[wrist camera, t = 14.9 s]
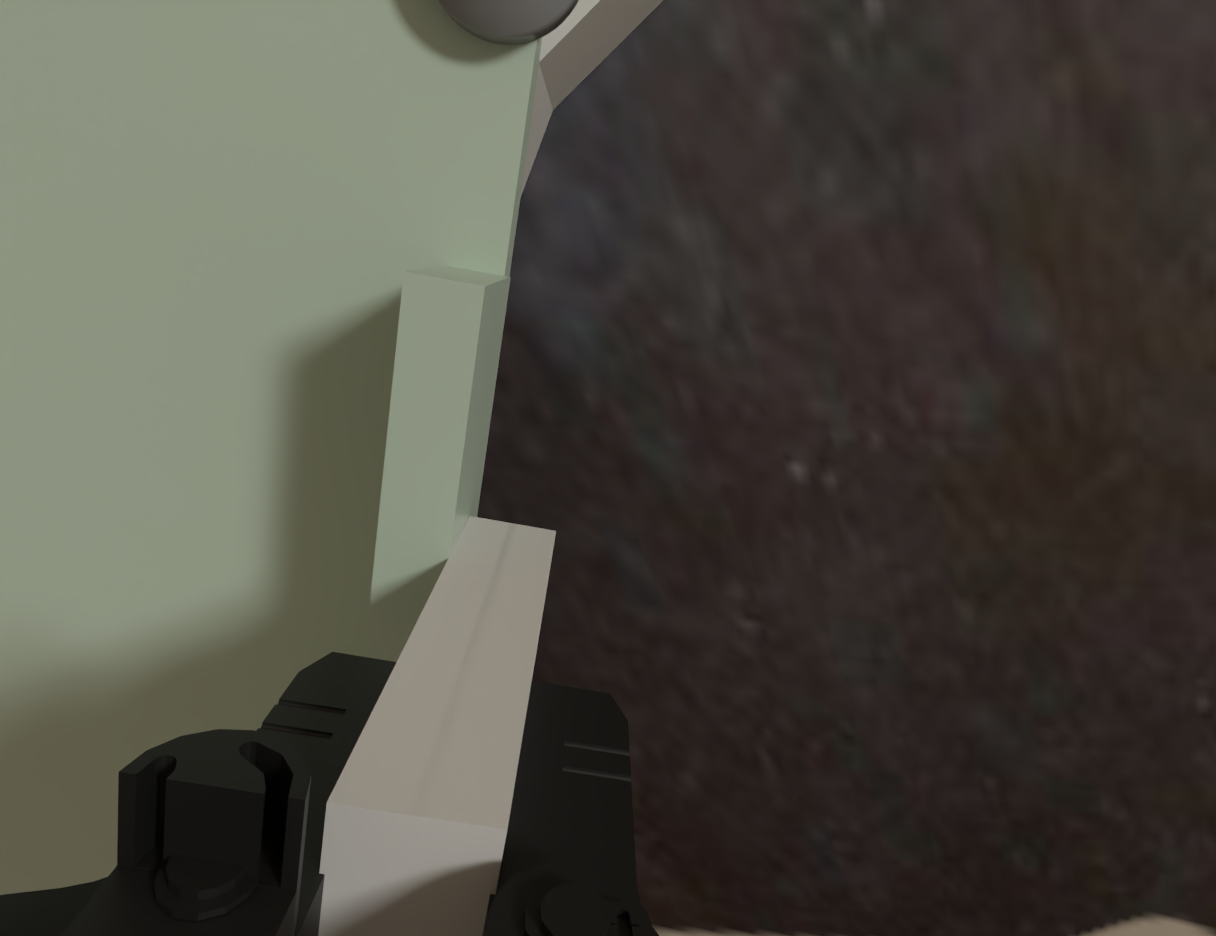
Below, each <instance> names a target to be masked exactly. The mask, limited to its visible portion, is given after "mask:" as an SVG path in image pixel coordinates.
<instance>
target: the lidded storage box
mask: <svg viewBox="0 0 1216 936" xmlns="http://www.w3.org/2000/svg"><path fill="white" fill-rule="evenodd" d="M662 1H663V0H579V1H578V3H577V4H576V6H575V8H574V9H573V11H572V12H571V14H570V15H569V16H568V17H567V18H566V19H565V21H564V22H563V23H562V24H560V25H559V26H558V27H557V28H556V29H555V30H553V31H552V32H550V33H549V34H547V35H545V36H543V39H542V46H541V53H540V61H539V68H538V75H537V82H536V89H535V96H534V103H533V111H532V118H531V125H530V132H529V139H528V146H527V154H526V161H525V168H524V175H523V182H522V189H521V195H522V192H523V190H524V187H525V184H526V181H527V179H528V176H529V173H530V171H531V168H532V165H533V163H534V160H535V157H536V155H537V152H538V149H539V146H540V144H541V141H542V138H543V136H544V133H545V130H546V128H547V125H548V122H549V120H550V117H551V114H552V111H553V110H554V109H555V108H556V107H557V106H558V105H559V104H560V103H561V102H562V101H563V100H564V99H565V98H566V97H567V96H568V95H569V94H570V93H571V92H572V91H573V90H574V89H575V88H576V87H577V86H578V85H579V84H580V83H581V82H582V81H583V80H584V79H585V78H586V77H587V76H588V75H589V74H590V73H591V72H592V71H593V70H594V69H595V68H596V67H597V66H598V65H599V64H600V63H601V62H602V61H603V60H604V59H605V58H606V57H607V56H608V55H609V54H610V53H611V52H612V51H613V50H614V49H615V48H616V47H617V46H618V45H619V44H620V43H621V42H622V41H623V40H624V39H625V38H626V37H627V36H628V35H629V34H630V33H631V32H632V31H633V30H634V29H635V28H636V27H637V26H638V25H639V24H640V23H641V22H642V21H643V20H644V19H645V18H646V17H647V16H648V15H649V14H650V13H651V12H652V11H653V10H654V9H655V8H656V7H657V6H658V5H659V4H660V3H661V2H662ZM520 198H521V196H520Z"/></svg>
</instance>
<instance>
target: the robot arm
mask: <svg viewBox="0 0 1216 936" xmlns="http://www.w3.org/2000/svg"><path fill="white" fill-rule="evenodd" d="M555 535H556V531H553V530H547V529H541V528H536V527H530V526H524V525H518V524H513V523H507V522H501V521H495V520H489V519H484V518H478V517H472V516H469V518H468V520H467V522H466V524H465V526H464V528H463V530H462V532H461V534H460V536H459V539H458V541H457V543H456V545H455V547H454V549H453V551H452V554H451V556H450V558H448V560H447V562H446V564H445V566H444V568H443V570H442V572H441V574H440V576H439V578H438V580H437V582H436V584H435V586H434V588H433V590H432V592H431V594H430V596H429V598H428V600H427V602H426V604H425V606H424V608H423V610H422V612H421V614H420V616H419V618H418V621H417V623H416V625H415V627H414V629H413V631H412V633H411V635H410V637H409V639H408V641H407V643H406V645H405V647H404V649H403V651H402V653H401V655H400V657H399V659H398V661H397V662H393V661H387V660H381V659H375V658H368V657H362V656H356V655H350V654H344V653H338V652H331V653H329V654H328V655H326V656H324V657H323V658H321V659H319V660H317V661H316V662H314V663H312V664H311V665H309V666H307V667H306V668H304V669H302V670H301V671H299V672H298V673H297V675H296V676H295V678H294V679H293V680H292V682H291V683H290V685H289V686H288V687H287V689H286V690H285V691H284V693H283V694H282V696H281V697H280V698H279V702H278V705H277V704H275V705H274V707H273V708H272V710H271V711H270V712H269V714H268V715H267V716H266V718H265V719H264V721H263V722H262V726H261V728H258V729H257V730H256V731H254V730H232V729H216V730H210V731H205V732H199V733H194V734H189V735H183V736H180V737H177V738H175V739H172V740H170V741H168V742H165V743H163V744H161V745H158V746H156V747H153V748H151V749H149V750H146V751H145V752H144V753H142V754H141V755H140V756H138V757H137V758H136V759H135V760H133V761H132V762H131V763H129V764H128V765H127V766H125V767H124V768H123V769H122V770H120V771H119V778H118V840H117V866H116V867H115V869H114V870H113V871H112V872H111V874H110V875H109V876H108V877H105V878H102V879H99V880H96V881H94V882H89V883H83V884H78V885H73V886H68V887H63V888H55V889H47V890H38V891H30V892H21V893H12V894H4V895H0V936H659V935H658V934H657V932H656V931H655V930H654V928H653V927H652V925H651V921H650V918H649V915H648V912H647V911H646V910H645V909H644V907H643V906H642V905H641V903H640V899H639V894H638V889H637V881H636V862H635V844H634V826H633V808H632V789H631V783H630V778H631V771H630V757H629V735H628V721H627V719H626V718H625V716H624V715H623V713H622V711H621V710H620V708H619V707H618V705H617V704H616V702H615V701H614V699H613V698H612V696H611V694H609V693H603V692H597V691H591V690H585V689H578V688H572V687H566V686H560V685H554V684H548V683H541V682H535V681H532V676H533V670H534V663H535V657H536V651H537V645H538V639H539V633H540V627H541V620H542V614H543V608H544V602H545V596H546V590H547V584H548V578H549V571H550V565H551V559H552V553H553V547H554V541H555Z"/></svg>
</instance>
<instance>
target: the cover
mask: <svg viewBox="0 0 1216 936" xmlns="http://www.w3.org/2000/svg"><path fill="white" fill-rule="evenodd" d="M578 1H579V0H0V895H4V894H12V893H21V892H30V891H38V890H47V889H55V888H63V887H68V886H73V885H78V884H83V883H89V882H94V881H96V880H99V879H102V878H105V877H108V876H109V875H110V874H111V872H112V871H113V870H114V869H115V867H116V866H117V840H118V778H119V771H120V770H122V769H123V768H124V767H125V766H127V765H128V764H129V763H131V762H132V761H133V760H135V759H136V758H137V757H138V756H140V755H141V754H142V753H144V752H145V751H146V750H149V749H151V748H153V747H156V746H158V745H161V744H163V743H165V742H168V741H170V740H172V739H175V738H177V737H180V736H183V735H189V734H194V733H199V732H205V731H210V730H216V729H232V730H254V731H256V730H257V729H258V728H261V726H262V722H263V721H264V719H265V718H266V716H267V715H268V714H269V712H270V711H271V710H272V708H273V707H274V705H275V704H277V705H278V702H279V698H280V697H281V696H282V694H283V693H284V691H285V690H286V689H287V687H288V686H289V685H290V683H291V682H292V680H293V679H294V678H295V676H296V675H297V673H298V672H299V671H301V670H302V669H304V668H306V667H307V666H309V665H311V664H312V663H314V662H316V661H317V660H319V659H321V658H323V657H324V656H326V655H328V654H329V653H331V652H338V653H344V654H350V655H356V656H362V657H368V658H375V659H381V660H387V661H393V662H397V661H398V659H399V657H400V655H401V653H402V651H403V649H404V647H405V645H406V643H407V641H408V639H409V637H410V635H411V633H412V631H413V629H414V627H415V625H416V623H417V621H418V618H419V616H420V614H421V612H422V610H423V608H424V606H425V604H426V602H427V600H428V598H429V596H430V594H431V592H432V590H433V588H434V586H435V584H436V582H437V580H438V578H439V576H440V574H441V572H442V570H443V568H444V566H445V564H446V562H447V560H448V558H450V556H451V554H452V551H453V549H454V547H455V545H456V543H457V541H458V539H459V536H460V534H461V532H462V530H463V528H464V526H465V524H466V522H467V520H468V518H469V516H472V517H477V513H478V505H479V498H480V491H481V484H482V477H483V470H484V463H485V456H486V448H487V441H488V434H489V427H490V420H491V413H492V406H493V399H494V391H495V384H496V377H497V370H498V363H499V356H500V349H501V342H502V334H503V327H504V320H505V313H506V306H507V299H508V292H509V284H510V277H509V275H510V268H511V261H512V254H513V247H514V239H515V232H516V225H517V218H518V211H519V204H520V196H521V189H522V182H523V175H524V168H525V161H526V154H527V146H528V139H529V132H530V125H531V118H532V111H533V103H534V96H535V89H536V82H537V75H538V68H539V61H540V53H541V46H542V39H543V36H545V35H547V34H549V33H550V32H552V31H553V30H555V29H556V28H557V27H558V26H559V25H560V24H562V23H563V22H564V21H565V19H566V18H567V17H568V16H569V15H570V14H571V12H572V11H573V9H574V8H575V6H576V4H577V3H578Z"/></svg>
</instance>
